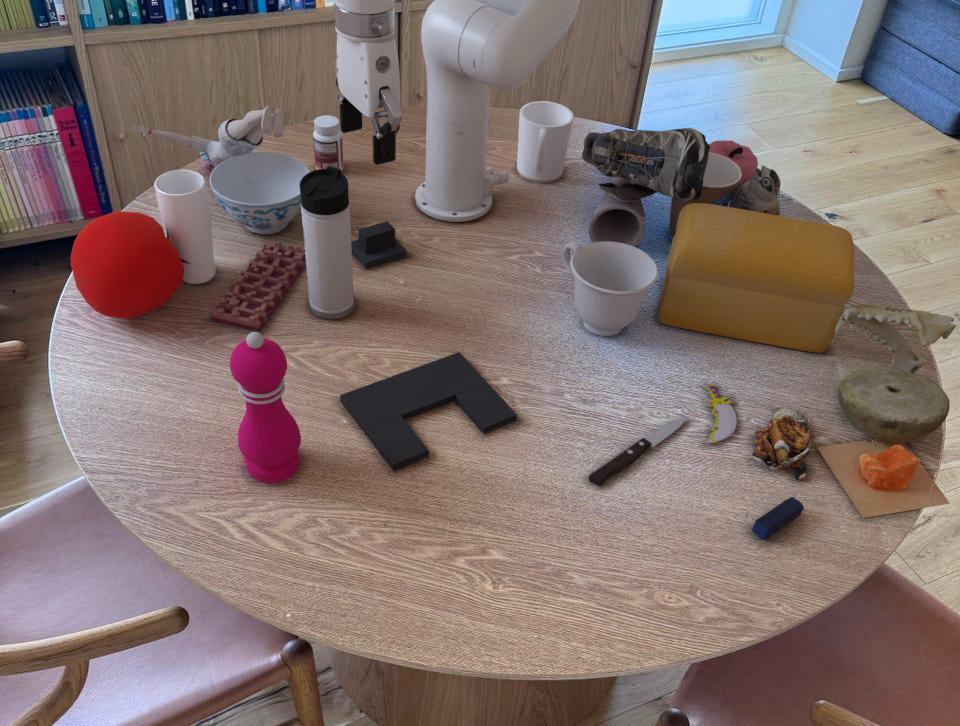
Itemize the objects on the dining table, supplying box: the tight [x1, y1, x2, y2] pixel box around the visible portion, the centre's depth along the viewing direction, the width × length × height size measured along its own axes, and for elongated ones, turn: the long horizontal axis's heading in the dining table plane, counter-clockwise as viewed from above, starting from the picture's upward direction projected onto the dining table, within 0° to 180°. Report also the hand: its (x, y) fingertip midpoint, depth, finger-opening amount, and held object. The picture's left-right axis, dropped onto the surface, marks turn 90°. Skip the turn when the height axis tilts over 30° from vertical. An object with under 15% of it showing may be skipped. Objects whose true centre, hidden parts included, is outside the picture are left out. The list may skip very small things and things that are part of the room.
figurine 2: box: [729, 165, 781, 216], centre depth 145 cm, size 9×19×10 cm
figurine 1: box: [131, 105, 285, 174], centre depth 143 cm, size 29×6×30 cm
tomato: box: [70, 210, 191, 320], centre depth 127 cm, size 16×14×14 cm
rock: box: [816, 438, 951, 519], centre depth 116 cm, size 12×12×4 cm
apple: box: [708, 140, 759, 201], centre depth 157 cm, size 10×9×10 cm
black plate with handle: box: [351, 220, 408, 270], centre depth 142 cm, size 7×6×4 cm
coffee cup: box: [668, 152, 742, 241], centre depth 147 cm, size 10×10×12 cm
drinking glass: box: [153, 169, 217, 285], centre depth 131 cm, size 7×7×15 cm
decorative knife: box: [704, 383, 737, 444], centre depth 123 cm, size 12×1×5 cm
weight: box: [837, 365, 951, 444], centre depth 123 cm, size 14×14×5 cm
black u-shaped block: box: [339, 351, 518, 472], centre depth 120 cm, size 18×14×1 cm
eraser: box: [751, 496, 805, 541], centre depth 110 cm, size 2×2×7 cm
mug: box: [516, 100, 574, 184], centre depth 158 cm, size 11×9×10 cm
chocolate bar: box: [209, 240, 306, 332], centre depth 135 cm, size 7×19×2 cm, turn 165°
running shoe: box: [581, 127, 710, 211], centre depth 141 cm, size 12×28×12 cm
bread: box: [657, 203, 855, 354], centre depth 133 cm, size 24×13×15 cm, turn 78°
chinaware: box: [209, 151, 311, 235], centre depth 144 cm, size 15×15×8 cm
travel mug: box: [300, 166, 355, 320], centre depth 126 cm, size 6×7×20 cm
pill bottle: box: [312, 114, 344, 172], centre depth 156 cm, size 5×5×8 cm
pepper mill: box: [229, 331, 302, 484], centre depth 105 cm, size 7×7×20 cm
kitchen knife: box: [588, 415, 687, 487], centre depth 118 cm, size 18×1×2 cm
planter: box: [588, 177, 647, 247], centre depth 154 cm, size 8×9×26 cm
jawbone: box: [835, 303, 957, 375], centre depth 127 cm, size 12×13×8 cm
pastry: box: [751, 407, 812, 481], centre depth 119 cm, size 7×12×4 cm, turn 163°
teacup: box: [561, 240, 659, 337], centre depth 132 cm, size 12×15×10 cm
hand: (367, 145), depth 130 cm, fingers open, 9 cm apart
